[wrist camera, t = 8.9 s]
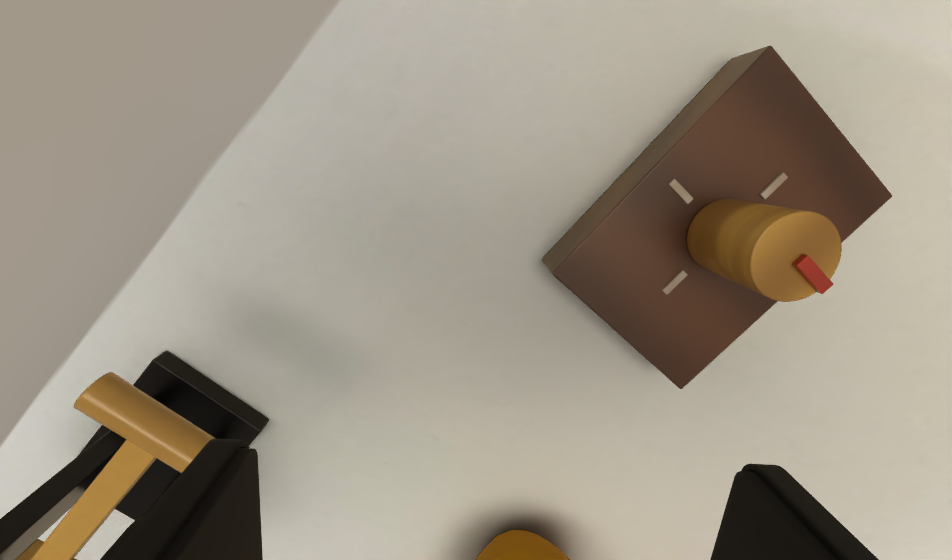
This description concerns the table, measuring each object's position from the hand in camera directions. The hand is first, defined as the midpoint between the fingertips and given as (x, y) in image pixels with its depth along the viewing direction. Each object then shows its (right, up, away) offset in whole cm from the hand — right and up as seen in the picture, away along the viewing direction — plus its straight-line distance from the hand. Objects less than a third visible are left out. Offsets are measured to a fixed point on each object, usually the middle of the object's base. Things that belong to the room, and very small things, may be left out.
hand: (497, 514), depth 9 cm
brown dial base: (+12, +8, +16) cm, 21 cm away
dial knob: (+12, +7, +13) cm, 19 cm away
